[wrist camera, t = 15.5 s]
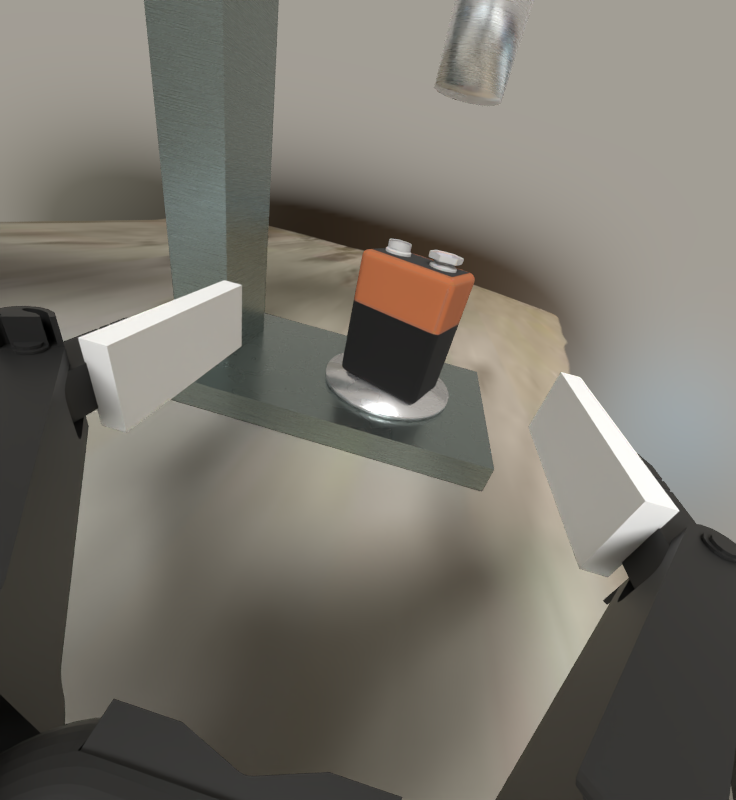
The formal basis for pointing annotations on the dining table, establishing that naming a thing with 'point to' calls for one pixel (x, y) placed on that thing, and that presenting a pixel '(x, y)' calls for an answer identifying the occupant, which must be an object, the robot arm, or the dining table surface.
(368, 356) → the battery
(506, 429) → the dining table surface
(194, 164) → the arbor press
